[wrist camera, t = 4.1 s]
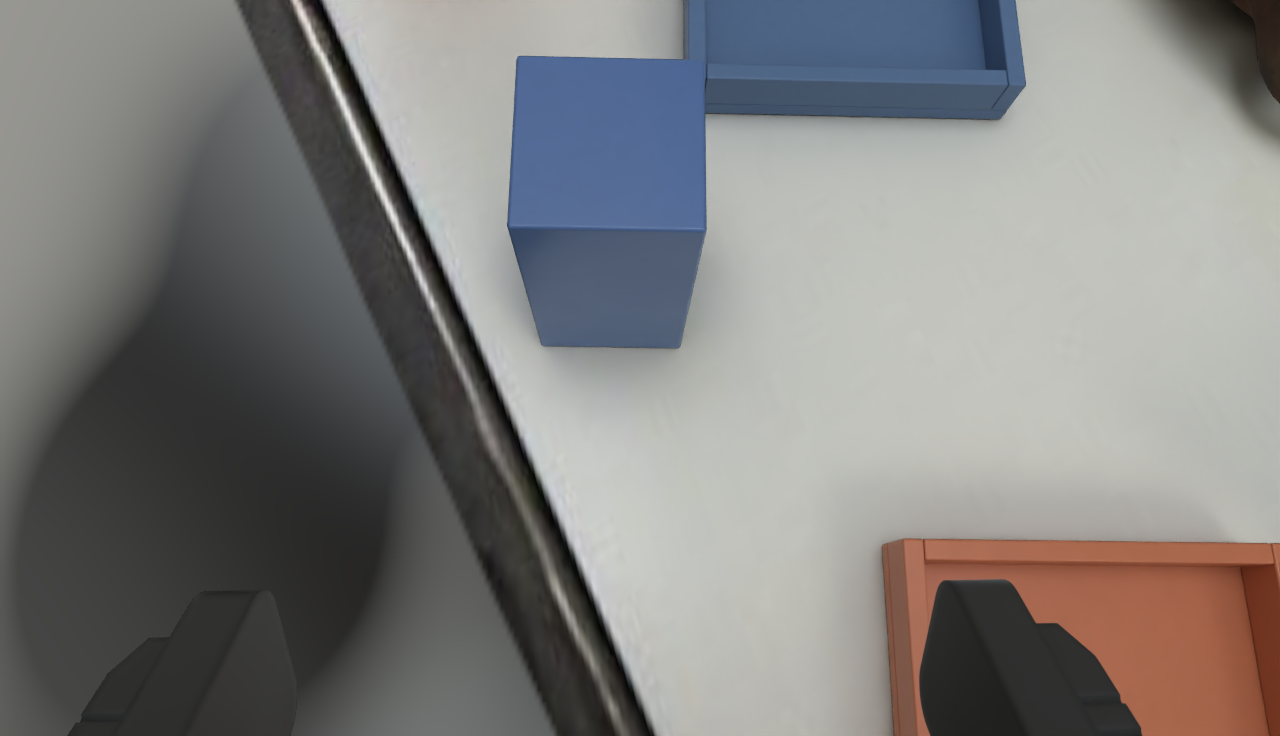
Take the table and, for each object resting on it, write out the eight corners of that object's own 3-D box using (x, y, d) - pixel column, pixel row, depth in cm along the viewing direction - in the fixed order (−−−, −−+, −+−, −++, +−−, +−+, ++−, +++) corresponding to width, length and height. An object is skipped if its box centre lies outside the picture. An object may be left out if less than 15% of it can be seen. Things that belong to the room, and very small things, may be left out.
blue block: (541, 346, 28) (506, 227, 20) (546, 219, 30) (516, 53, 21) (680, 348, 28) (707, 231, 20) (679, 221, 30) (705, 58, 21)
